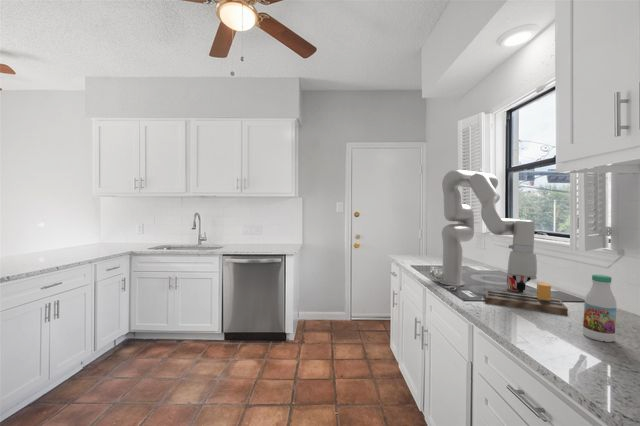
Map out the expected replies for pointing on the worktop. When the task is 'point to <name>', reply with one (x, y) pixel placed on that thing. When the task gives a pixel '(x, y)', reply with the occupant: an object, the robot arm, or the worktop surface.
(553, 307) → the board
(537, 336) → the worktop surface
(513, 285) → the soda can
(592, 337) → the milk bottle
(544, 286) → the fader tab
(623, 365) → the worktop surface
